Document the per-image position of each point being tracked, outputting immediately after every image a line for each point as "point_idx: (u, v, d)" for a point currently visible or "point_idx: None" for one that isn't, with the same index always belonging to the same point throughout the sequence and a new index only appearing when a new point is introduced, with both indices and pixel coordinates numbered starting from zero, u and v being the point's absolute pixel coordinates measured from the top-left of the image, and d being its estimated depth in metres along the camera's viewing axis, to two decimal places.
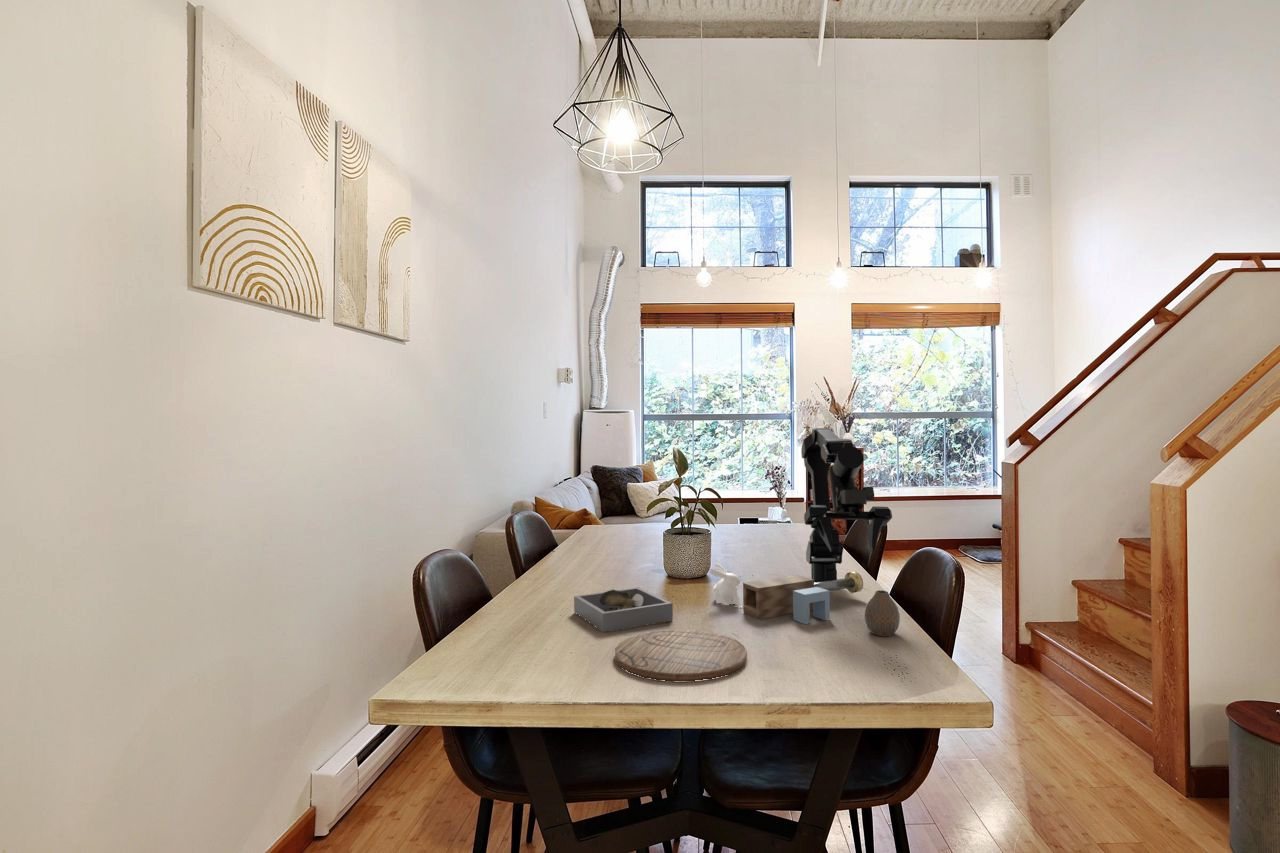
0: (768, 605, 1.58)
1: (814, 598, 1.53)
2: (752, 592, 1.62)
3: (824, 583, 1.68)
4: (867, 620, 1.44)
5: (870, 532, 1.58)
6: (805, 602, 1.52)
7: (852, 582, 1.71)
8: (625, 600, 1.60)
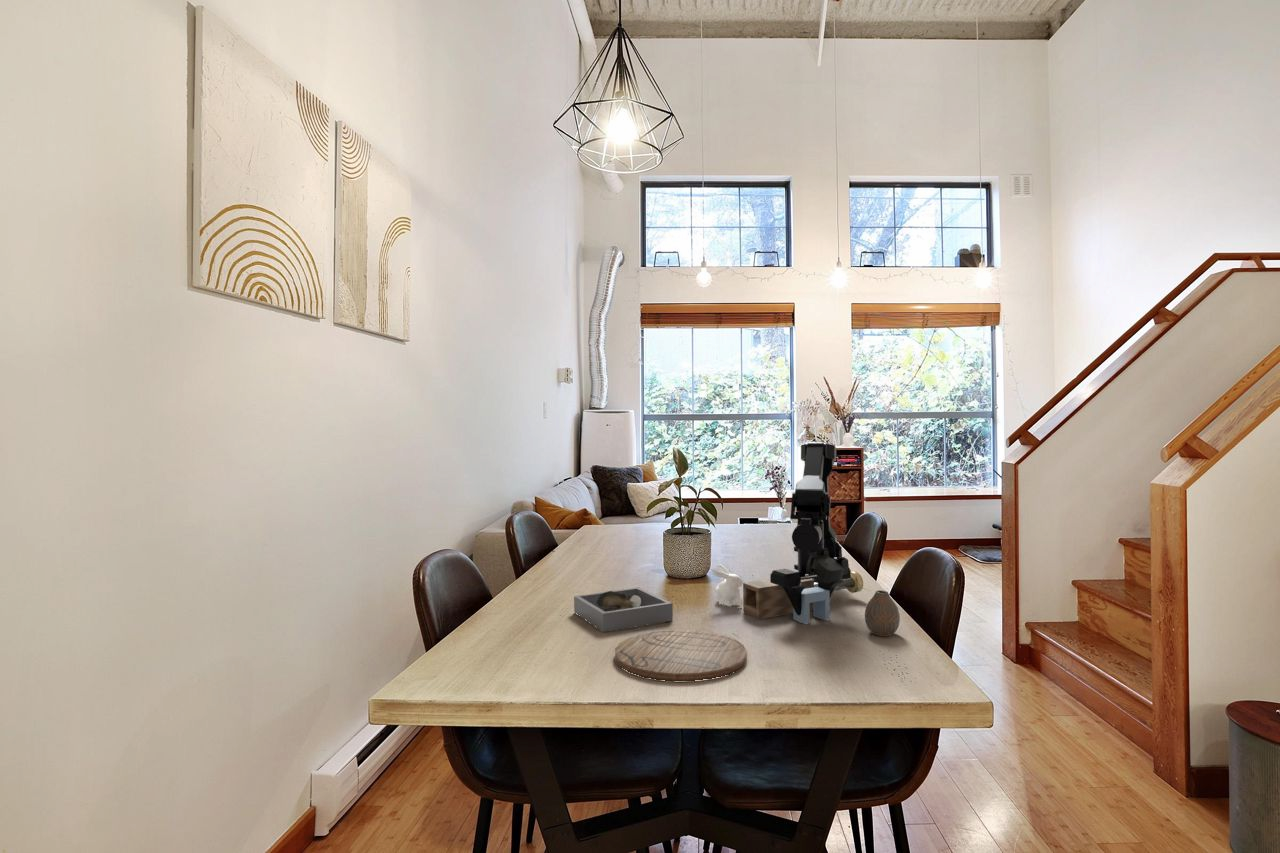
0: (768, 605, 1.58)
1: (814, 598, 1.53)
2: (752, 592, 1.62)
3: None
4: (867, 620, 1.44)
5: (823, 588, 1.58)
6: (805, 602, 1.52)
7: (852, 582, 1.71)
8: (623, 601, 1.59)
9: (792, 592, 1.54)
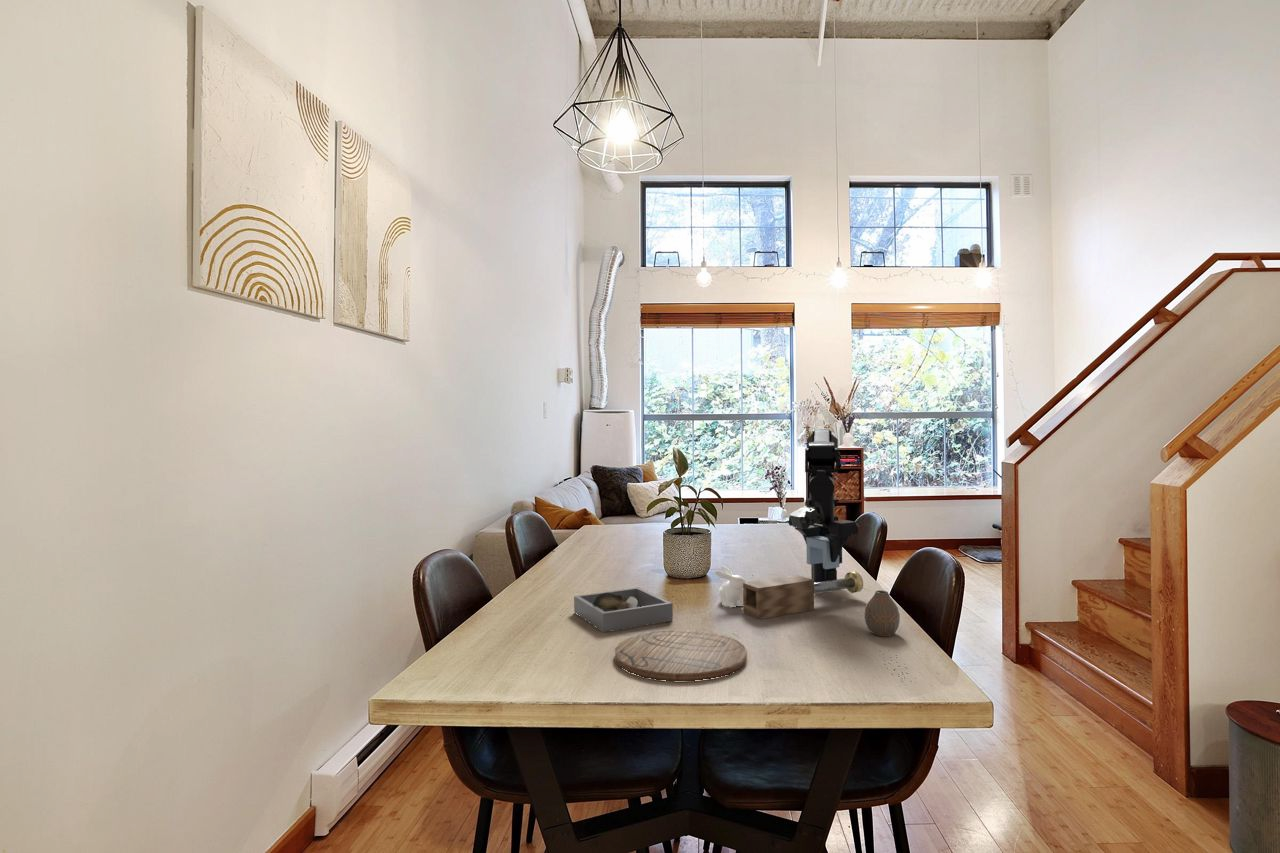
0: (768, 605, 1.58)
1: (814, 544, 1.68)
2: (752, 592, 1.62)
3: (824, 583, 1.68)
4: (867, 620, 1.44)
5: None
6: (807, 544, 1.71)
7: (852, 582, 1.71)
8: (619, 603, 1.57)
9: None
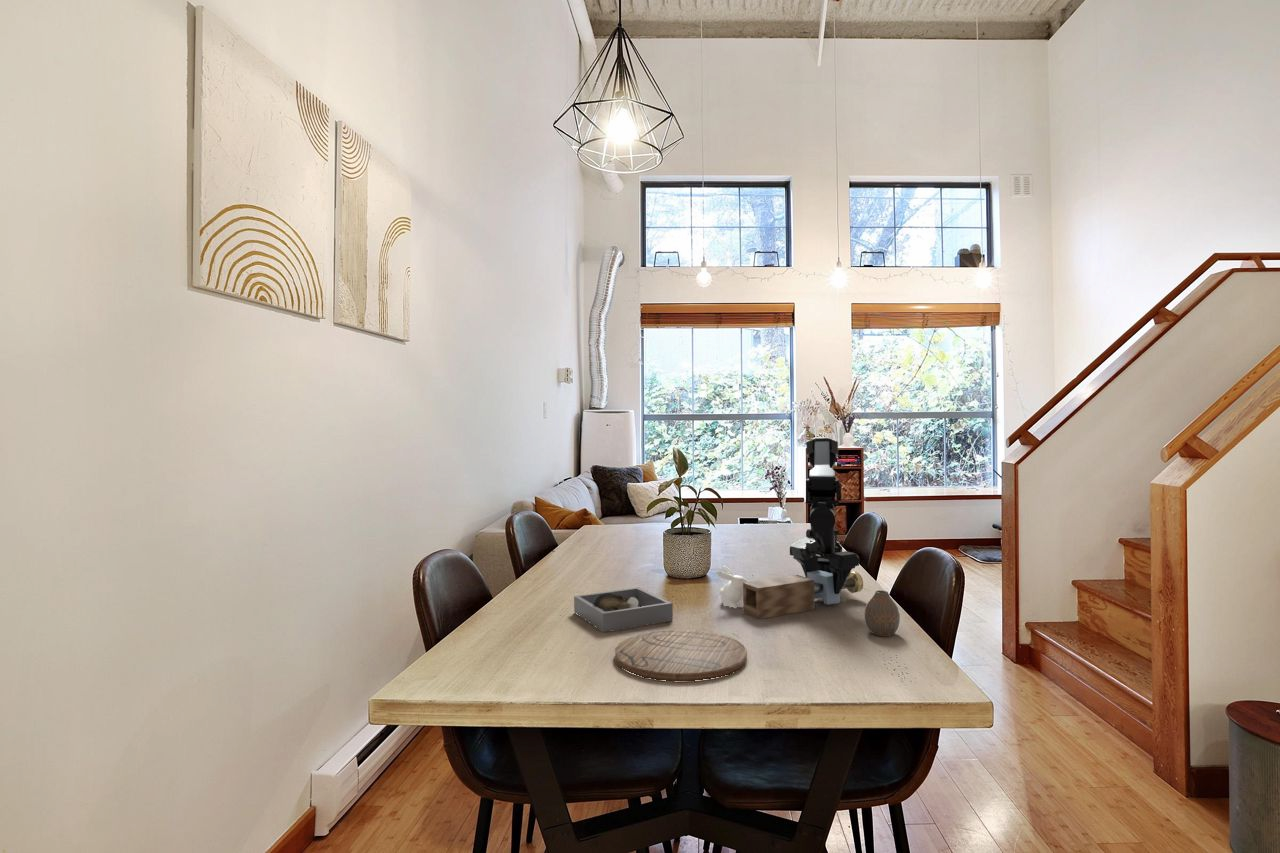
0: (768, 605, 1.58)
1: (814, 579, 1.69)
2: (752, 592, 1.62)
3: None
4: (867, 620, 1.44)
5: None
6: None
7: (852, 582, 1.71)
8: (620, 603, 1.57)
9: None
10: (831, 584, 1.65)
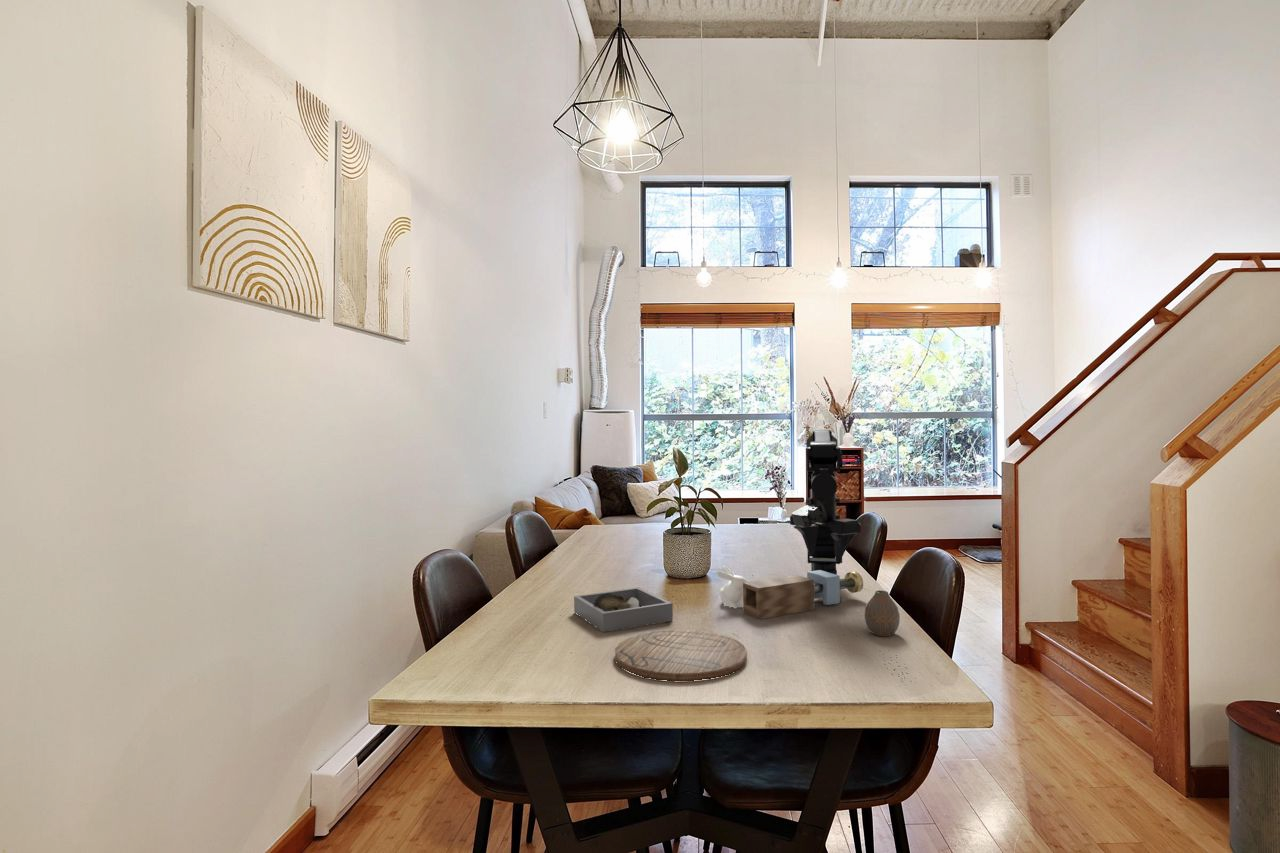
0: (768, 605, 1.58)
1: (814, 579, 1.69)
2: (752, 592, 1.62)
3: None
4: (867, 620, 1.44)
5: None
6: None
7: (852, 582, 1.71)
8: (620, 603, 1.57)
9: None
10: (831, 584, 1.65)
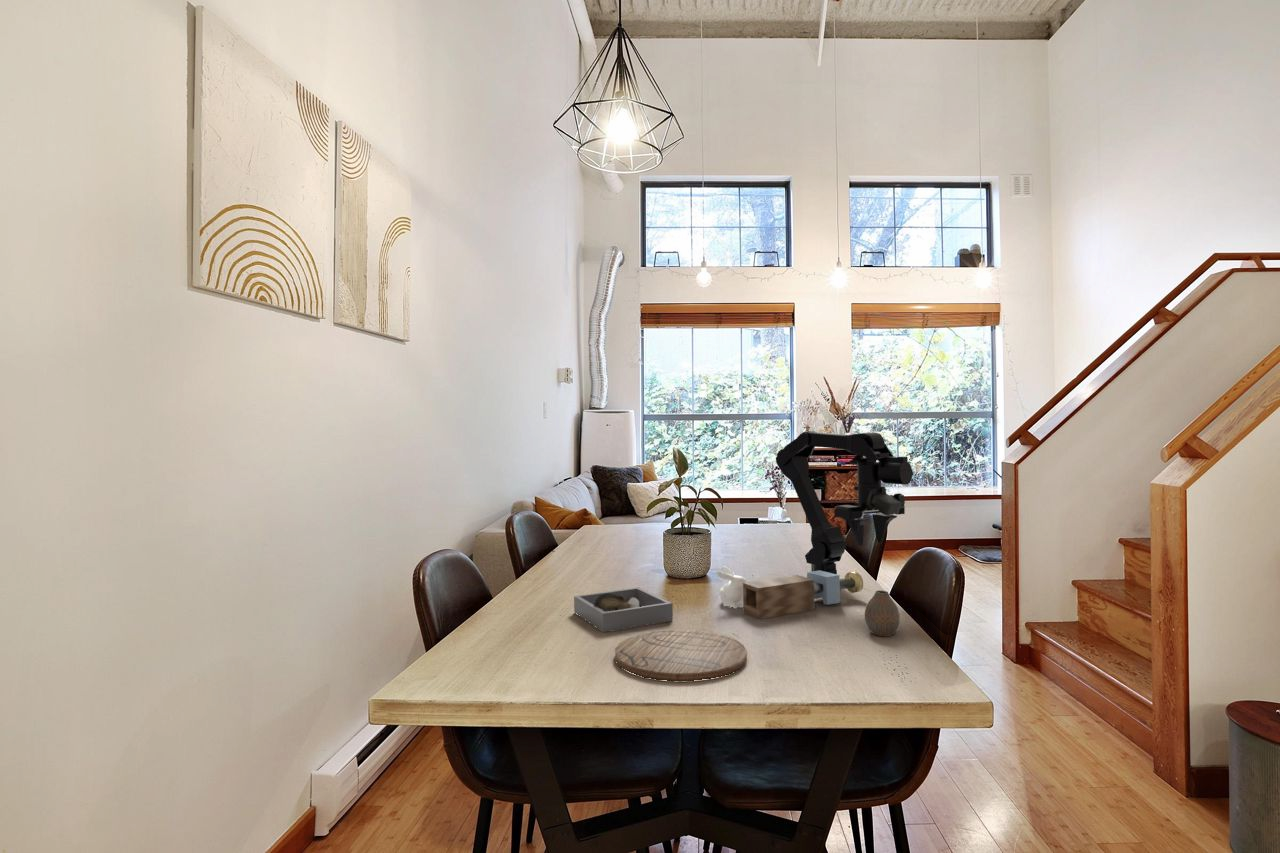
0: (768, 605, 1.58)
1: (814, 579, 1.69)
2: (752, 592, 1.62)
3: None
4: (867, 620, 1.44)
5: (878, 523, 1.78)
6: None
7: (852, 582, 1.71)
8: (620, 604, 1.56)
9: (855, 525, 1.74)
10: (831, 584, 1.65)
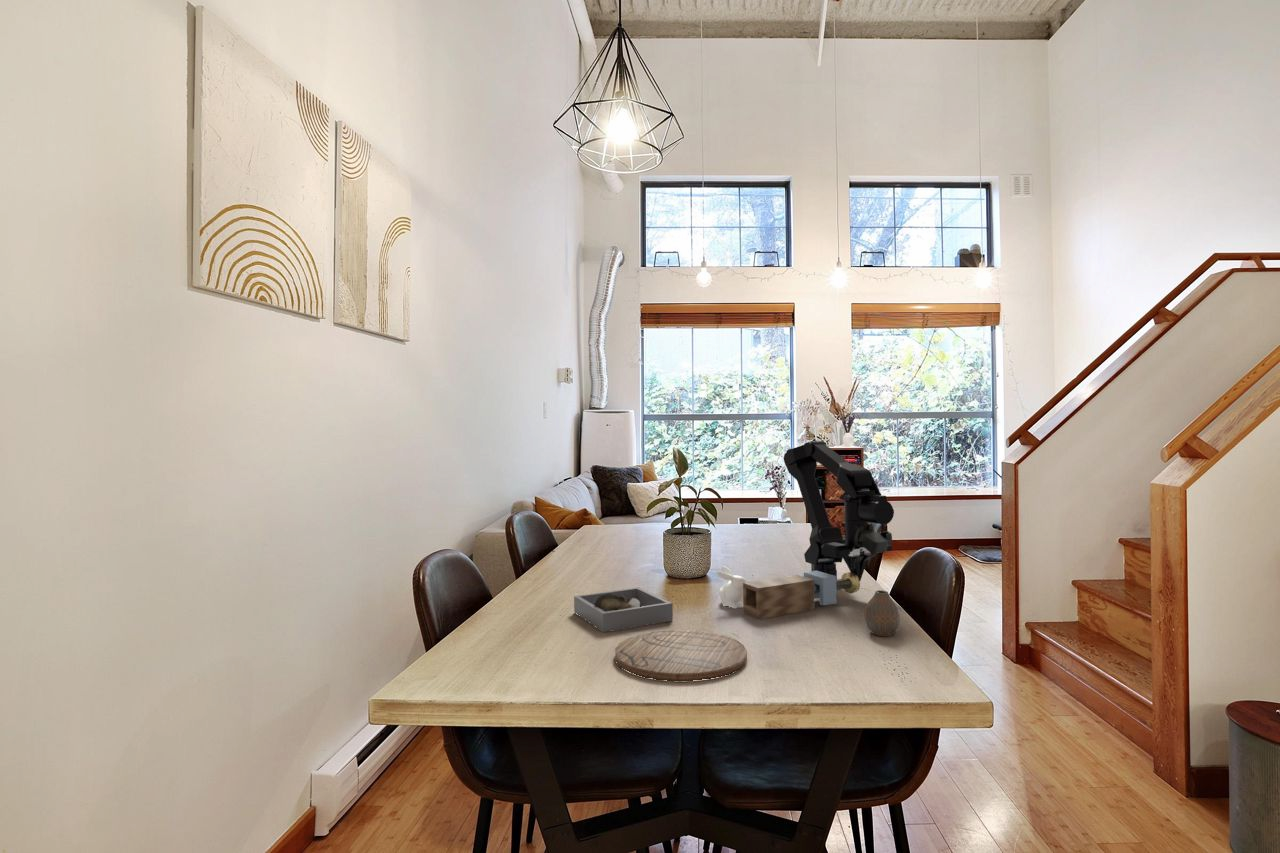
0: (768, 605, 1.58)
1: None
2: (752, 592, 1.62)
3: None
4: (867, 620, 1.44)
5: None
6: None
7: (848, 583, 1.71)
8: (621, 604, 1.56)
9: (851, 561, 1.73)
10: (828, 585, 1.65)
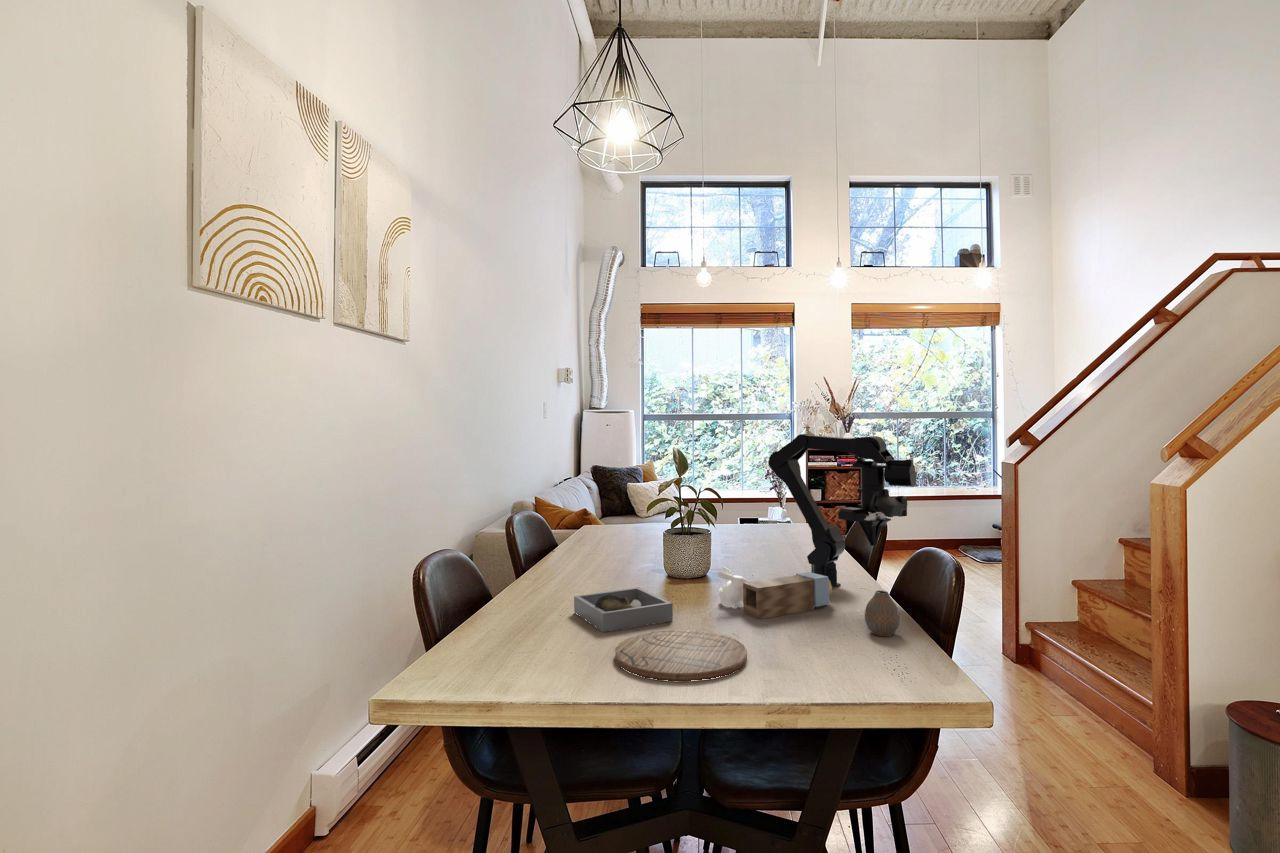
0: (768, 605, 1.58)
1: None
2: (752, 592, 1.62)
3: None
4: (867, 620, 1.44)
5: None
6: None
7: None
8: (622, 605, 1.55)
9: (867, 526, 1.79)
10: (820, 586, 1.64)
